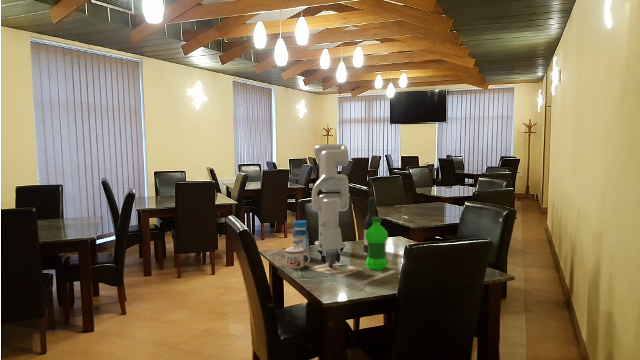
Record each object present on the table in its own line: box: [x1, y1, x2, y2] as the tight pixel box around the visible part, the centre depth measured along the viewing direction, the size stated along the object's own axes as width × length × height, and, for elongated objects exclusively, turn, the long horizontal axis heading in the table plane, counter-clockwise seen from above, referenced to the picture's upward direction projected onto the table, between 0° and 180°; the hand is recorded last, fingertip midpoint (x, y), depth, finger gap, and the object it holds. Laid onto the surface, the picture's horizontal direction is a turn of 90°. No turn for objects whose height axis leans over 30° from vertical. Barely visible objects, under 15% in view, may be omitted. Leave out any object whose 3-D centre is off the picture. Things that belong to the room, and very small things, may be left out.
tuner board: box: [307, 262, 363, 277], centre depth 214 cm, size 20×16×1 cm
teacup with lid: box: [284, 243, 311, 269], centre depth 220 cm, size 12×9×12 cm
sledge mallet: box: [325, 251, 348, 268], centre depth 217 cm, size 10×6×7 cm, turn 112°
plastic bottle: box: [365, 216, 389, 271], centre depth 214 cm, size 10×10×25 cm
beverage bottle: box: [291, 219, 310, 260], centre depth 236 cm, size 8×8×20 cm
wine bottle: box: [363, 196, 377, 254], centre depth 252 cm, size 8×8×30 cm
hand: (330, 262), depth 216 cm, fingers open, 6 cm apart
